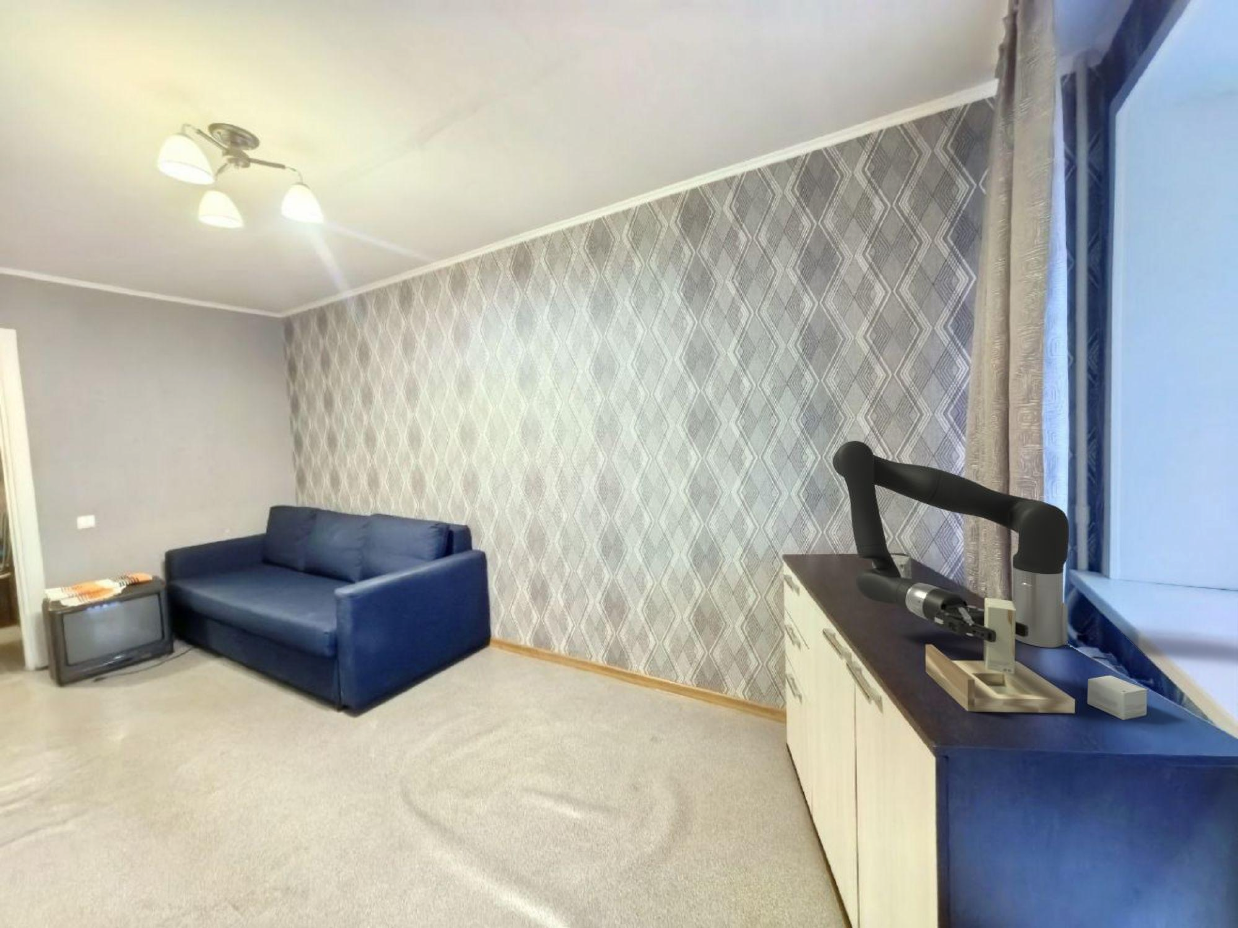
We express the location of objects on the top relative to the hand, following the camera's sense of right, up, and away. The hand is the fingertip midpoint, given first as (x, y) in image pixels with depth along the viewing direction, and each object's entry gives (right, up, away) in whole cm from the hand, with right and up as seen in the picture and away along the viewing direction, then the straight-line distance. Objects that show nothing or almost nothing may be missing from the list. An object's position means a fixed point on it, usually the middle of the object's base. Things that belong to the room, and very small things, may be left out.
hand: (1010, 634), depth 93 cm
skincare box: (0, -7, +3) cm, 8 cm away
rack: (0, -13, +5) cm, 14 cm away
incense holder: (+15, -8, +67) cm, 70 cm away
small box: (+17, -13, -3) cm, 21 cm away
